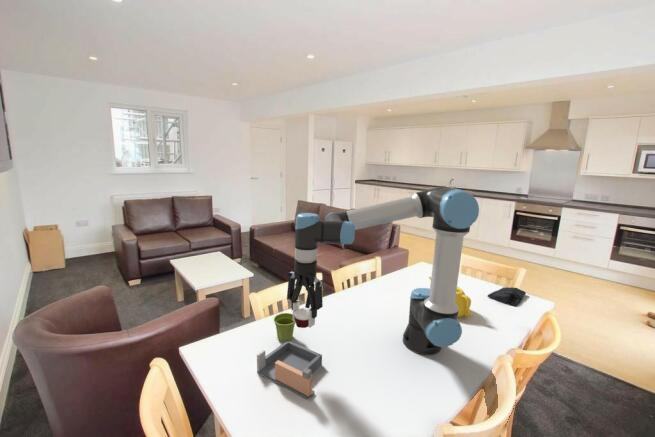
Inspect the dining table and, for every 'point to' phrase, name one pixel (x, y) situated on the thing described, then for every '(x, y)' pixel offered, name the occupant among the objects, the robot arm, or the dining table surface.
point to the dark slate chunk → (508, 295)
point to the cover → (294, 377)
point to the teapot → (462, 302)
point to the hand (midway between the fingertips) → (303, 322)
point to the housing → (288, 362)
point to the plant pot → (284, 326)
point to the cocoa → (302, 315)
